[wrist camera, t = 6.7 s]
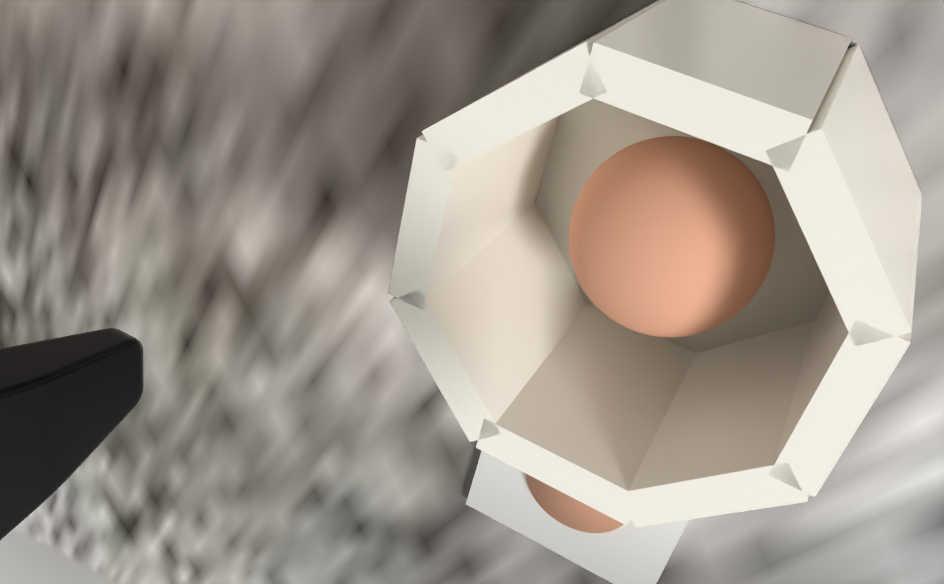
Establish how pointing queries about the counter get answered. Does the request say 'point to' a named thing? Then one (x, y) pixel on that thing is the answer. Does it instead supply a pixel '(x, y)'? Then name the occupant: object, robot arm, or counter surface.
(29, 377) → the robot arm
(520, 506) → the tile
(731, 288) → the ball terracotta
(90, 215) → the counter surface
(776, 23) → the cup
